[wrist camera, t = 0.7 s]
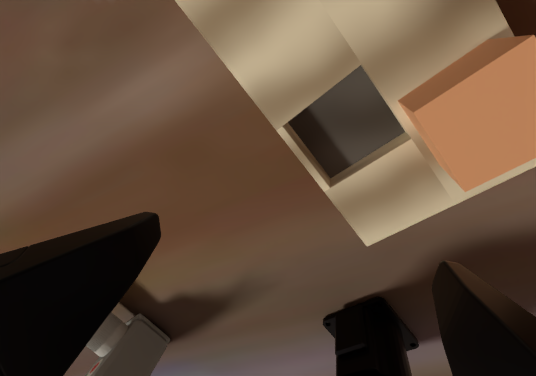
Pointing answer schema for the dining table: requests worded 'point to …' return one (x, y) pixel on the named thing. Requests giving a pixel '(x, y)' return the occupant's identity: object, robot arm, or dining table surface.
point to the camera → (127, 347)
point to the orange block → (480, 111)
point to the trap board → (353, 92)
